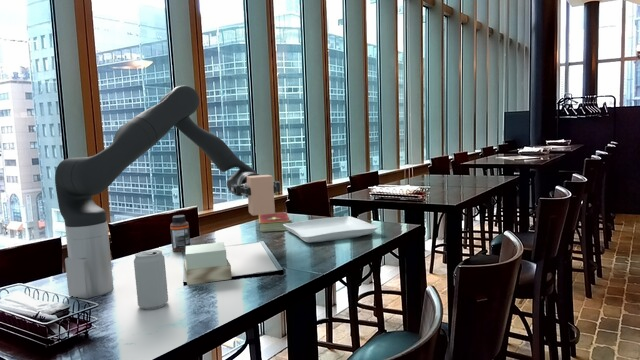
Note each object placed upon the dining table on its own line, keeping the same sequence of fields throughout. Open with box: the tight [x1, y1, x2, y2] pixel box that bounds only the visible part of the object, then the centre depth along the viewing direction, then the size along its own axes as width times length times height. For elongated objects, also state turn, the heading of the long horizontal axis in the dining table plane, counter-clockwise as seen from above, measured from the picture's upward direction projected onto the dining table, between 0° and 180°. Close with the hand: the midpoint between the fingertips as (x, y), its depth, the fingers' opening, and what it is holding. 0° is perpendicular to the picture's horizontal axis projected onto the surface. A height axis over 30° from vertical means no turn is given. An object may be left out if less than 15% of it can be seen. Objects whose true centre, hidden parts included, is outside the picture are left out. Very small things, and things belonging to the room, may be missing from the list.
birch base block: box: [183, 259, 233, 286], centre depth 127 cm, size 11×11×4 cm
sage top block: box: [185, 241, 228, 270], centre depth 127 cm, size 10×10×4 cm
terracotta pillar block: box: [247, 174, 276, 216], centre depth 130 cm, size 6×6×10 cm
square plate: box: [283, 215, 379, 243], centre depth 172 cm, size 27×27×4 cm
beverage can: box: [133, 249, 169, 310], centre depth 106 cm, size 6×6×12 cm
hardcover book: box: [258, 211, 292, 233], centre depth 192 cm, size 12×21×4 cm, turn 8°
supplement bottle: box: [169, 214, 191, 252], centre depth 159 cm, size 6×6×11 cm
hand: (262, 190), depth 128 cm, fingers closed on terracotta pillar block, 6 cm apart
